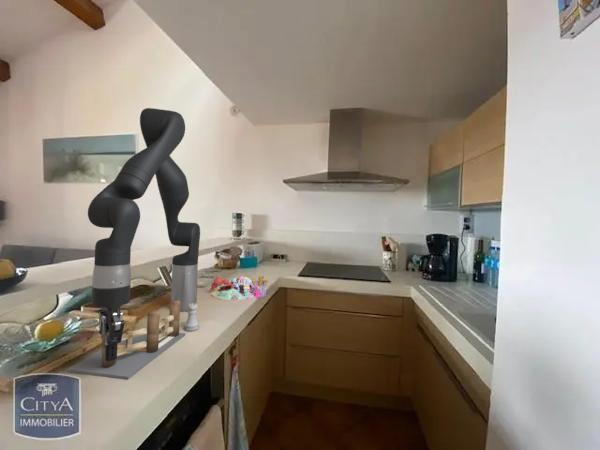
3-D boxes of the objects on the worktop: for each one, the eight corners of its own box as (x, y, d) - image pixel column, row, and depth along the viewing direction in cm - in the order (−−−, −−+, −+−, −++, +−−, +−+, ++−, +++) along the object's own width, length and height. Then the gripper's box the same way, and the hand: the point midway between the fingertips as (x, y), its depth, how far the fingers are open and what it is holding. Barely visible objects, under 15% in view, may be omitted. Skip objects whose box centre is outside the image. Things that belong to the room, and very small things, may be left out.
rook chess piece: (193, 325, 94) (194, 301, 94) (202, 328, 92) (203, 303, 92) (181, 329, 90) (182, 304, 90) (190, 332, 88) (191, 307, 88)
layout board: (139, 330, 88) (139, 328, 88) (185, 335, 86) (185, 332, 86) (66, 371, 64) (67, 368, 64) (127, 379, 62) (127, 376, 62)
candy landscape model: (236, 285, 151) (237, 268, 150) (275, 292, 141) (276, 274, 141) (202, 296, 128) (202, 276, 128) (245, 305, 118) (246, 283, 118)
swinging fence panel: (142, 349, 74) (143, 315, 74) (147, 353, 72) (149, 318, 72) (99, 363, 66) (100, 325, 66) (104, 368, 65) (105, 328, 64)
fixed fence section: (172, 332, 86) (173, 300, 86) (180, 333, 86) (182, 300, 85) (143, 352, 73) (145, 314, 73) (153, 353, 73) (155, 315, 73)
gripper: (139, 286, 64) (136, 363, 64) (122, 276, 74) (119, 343, 74) (99, 291, 59) (95, 374, 59) (86, 280, 69) (83, 351, 69)
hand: (109, 356), depth 67 cm, fingers closed on swinging fence panel, 3 cm apart
